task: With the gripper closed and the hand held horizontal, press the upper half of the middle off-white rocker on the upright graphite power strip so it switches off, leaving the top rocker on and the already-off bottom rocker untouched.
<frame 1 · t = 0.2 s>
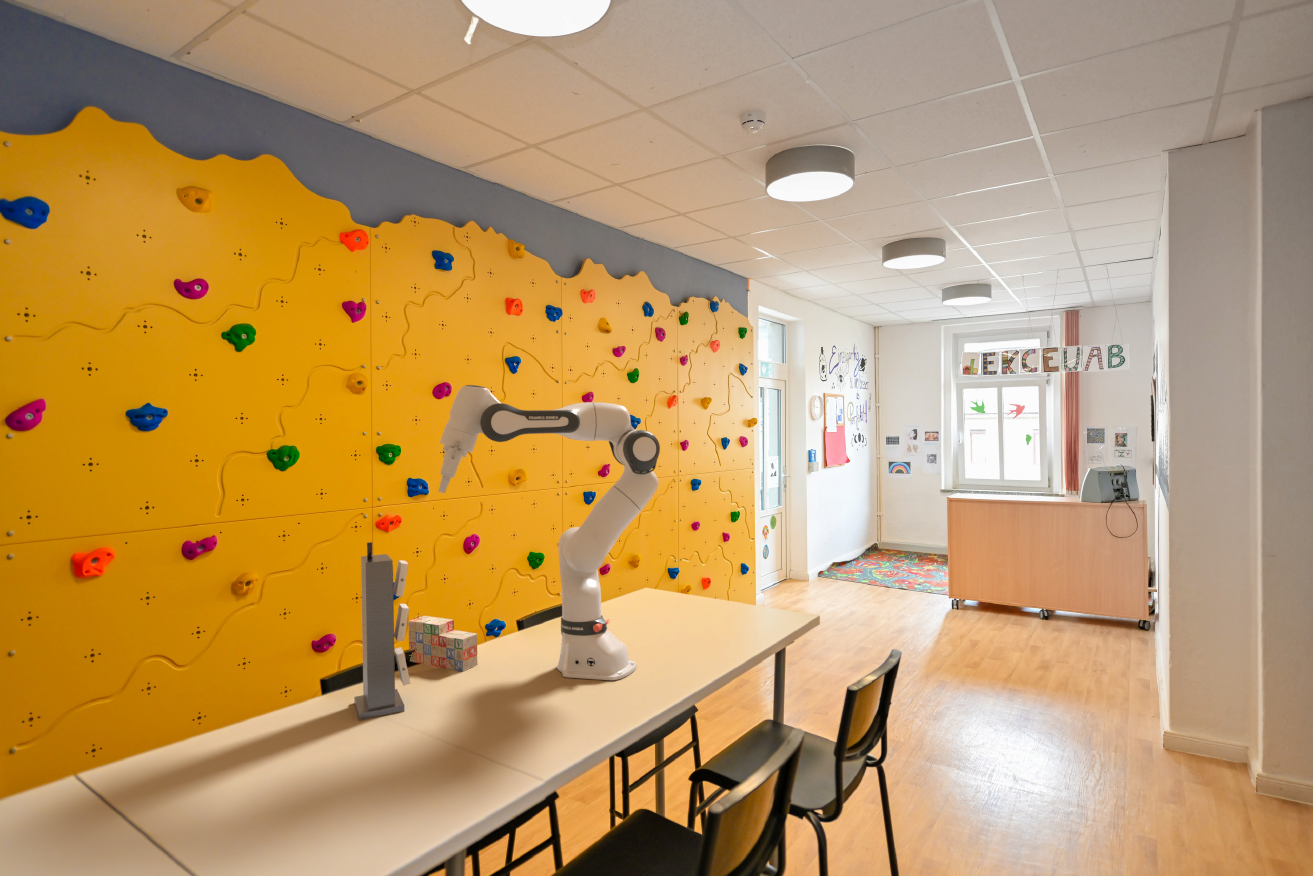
hand: (441, 491, 179), 52 cm above the table, tool tilted 20°, fingers open, 8 cm apart
bottom rocker: (402, 666, 166), point 9 cm above the table, hinge at 10.0°
power strip: (379, 707, 164), on the table
middle rocker: (401, 622, 166), point 20 cm above the table, hinge at -10.0°
stack of blocks: (443, 664, 195), on the table
top rocker: (401, 578, 166), point 31 cm above the table, hinge at -10.0°
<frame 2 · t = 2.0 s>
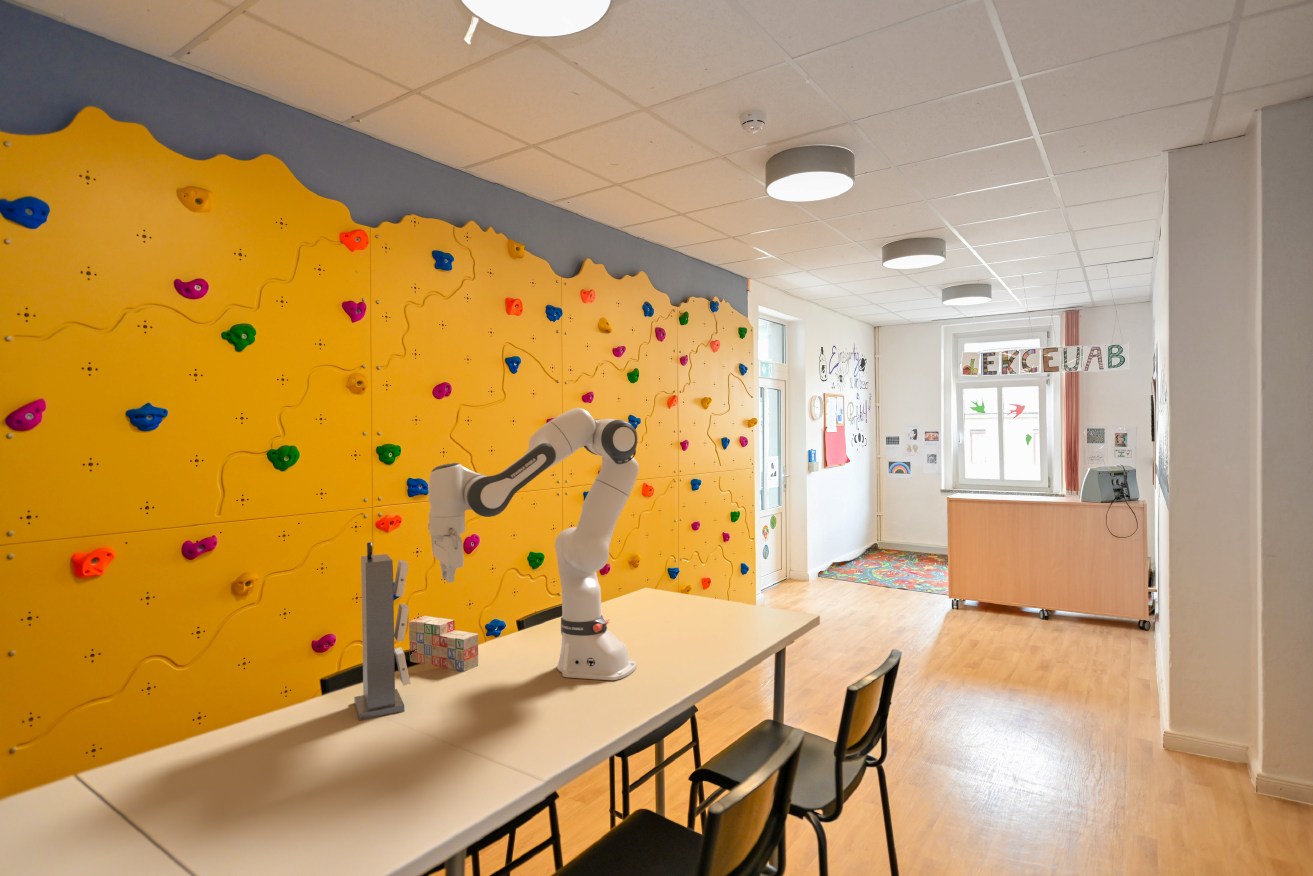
hand: (448, 580, 172), 29 cm above the table, tool pointing down, fingers open, 4 cm apart
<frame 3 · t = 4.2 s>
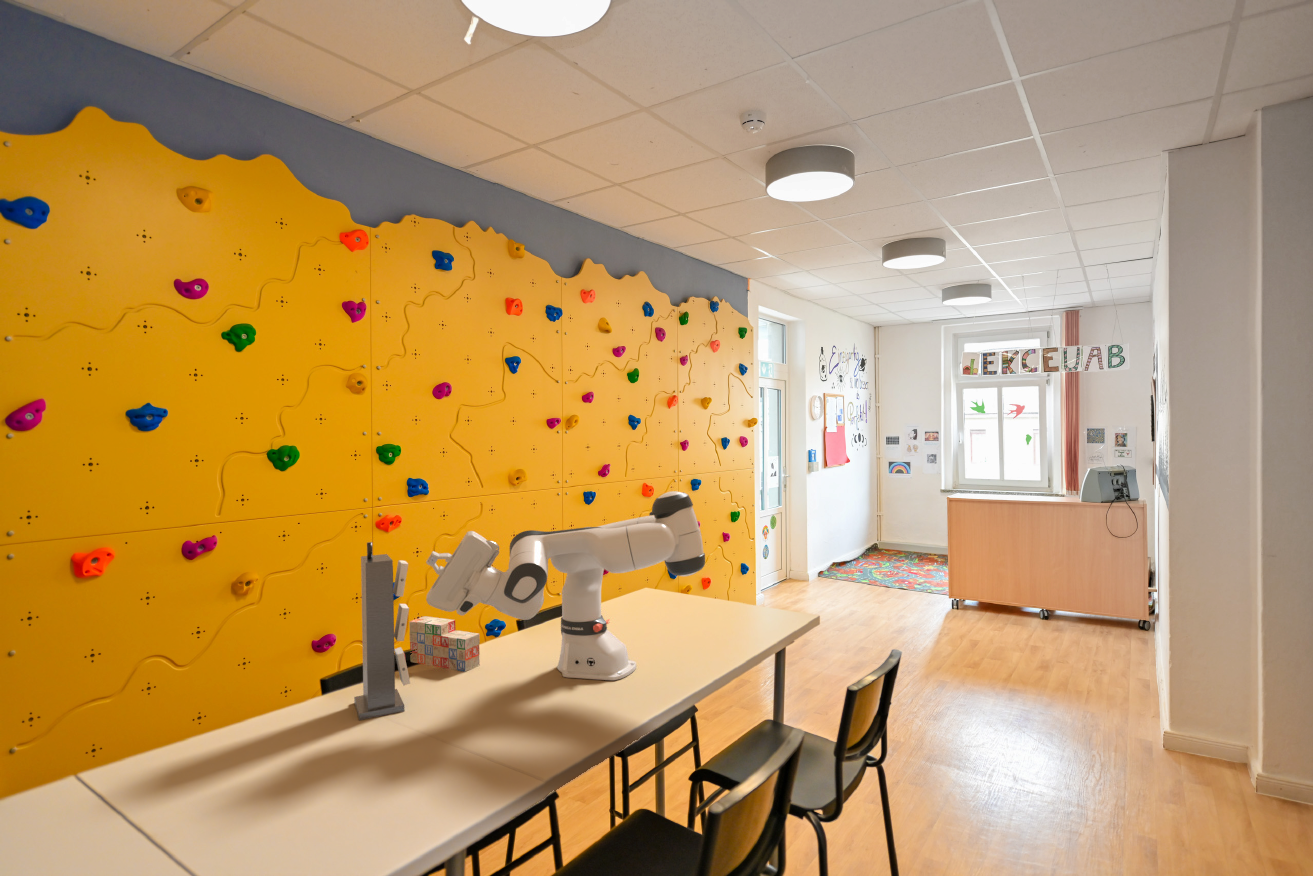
hand: (429, 557, 159), 37 cm above the table, tool pointing upward, fingers closed
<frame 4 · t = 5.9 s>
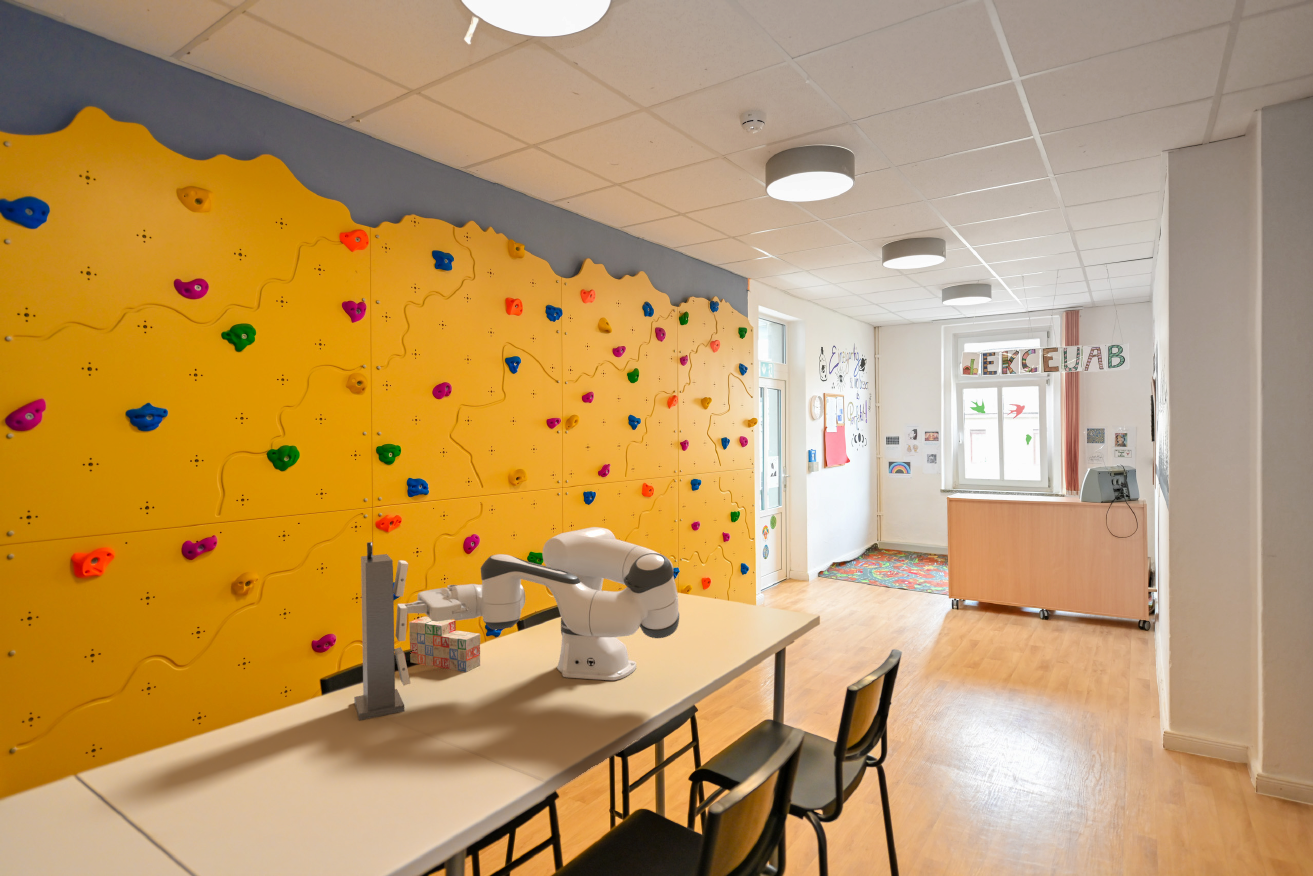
hand: (404, 608, 166), 23 cm above the table, tool horizontal, fingers closed, pressing on middle rocker
middle rocker: (401, 622, 166), point 20 cm above the table, hinge at -4.3°, touching gripper
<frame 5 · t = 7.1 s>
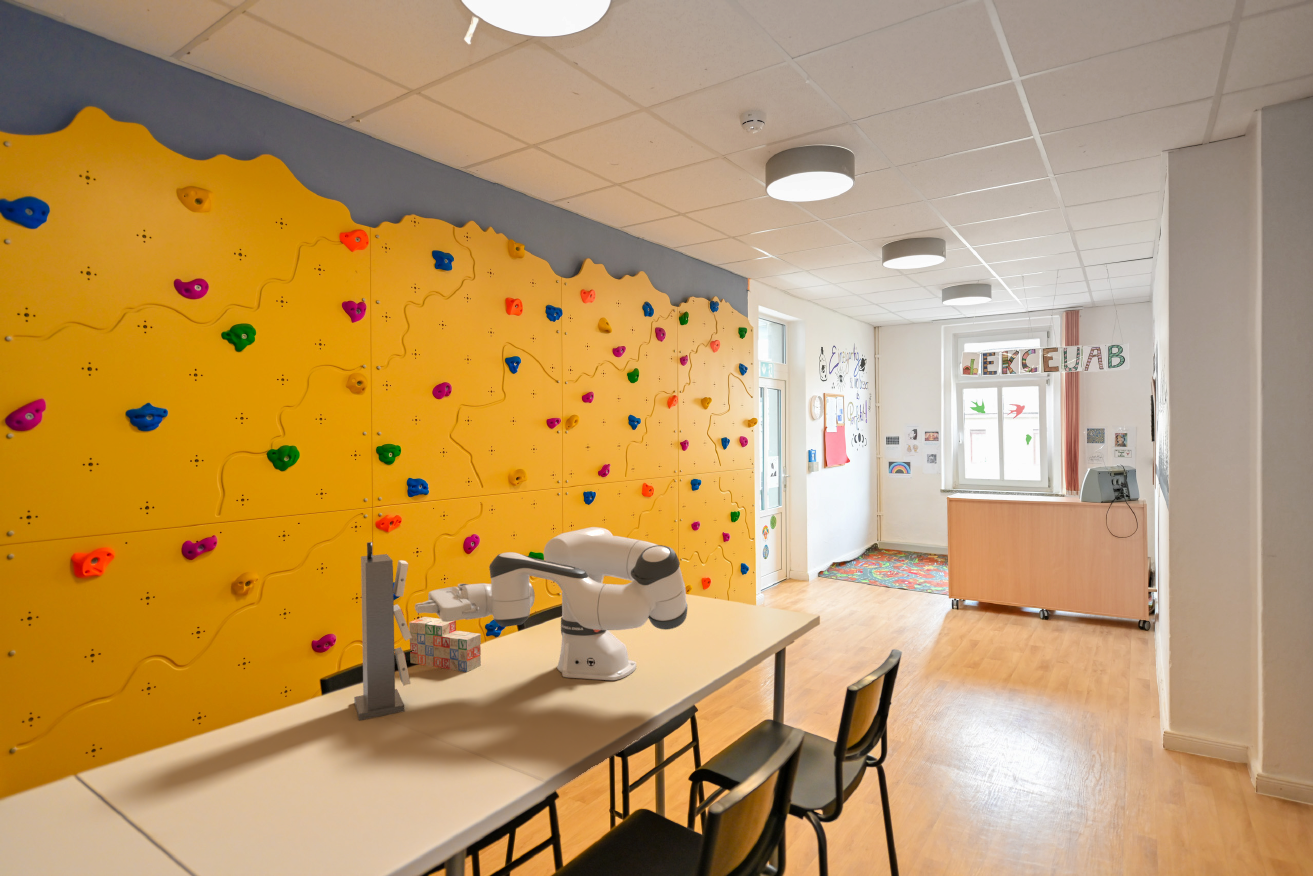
hand: (415, 608, 168), 23 cm above the table, tool horizontal, fingers closed
middle rocker: (401, 622, 166), point 20 cm above the table, hinge at 18.6°
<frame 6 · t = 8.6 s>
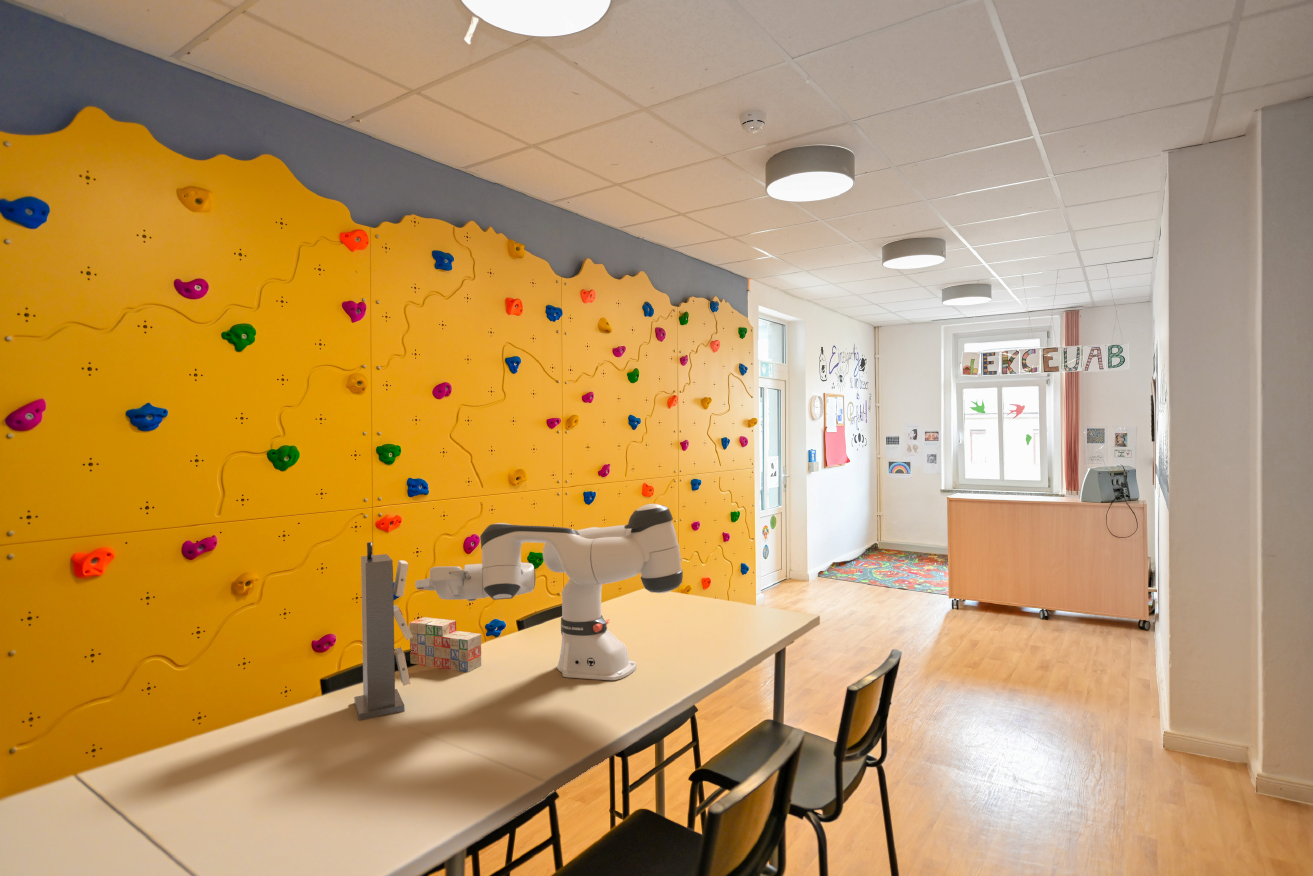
hand: (416, 585, 171), 28 cm above the table, tool horizontal, fingers closed
middle rocker: (401, 622, 166), point 20 cm above the table, hinge at 23.5°, touching power strip
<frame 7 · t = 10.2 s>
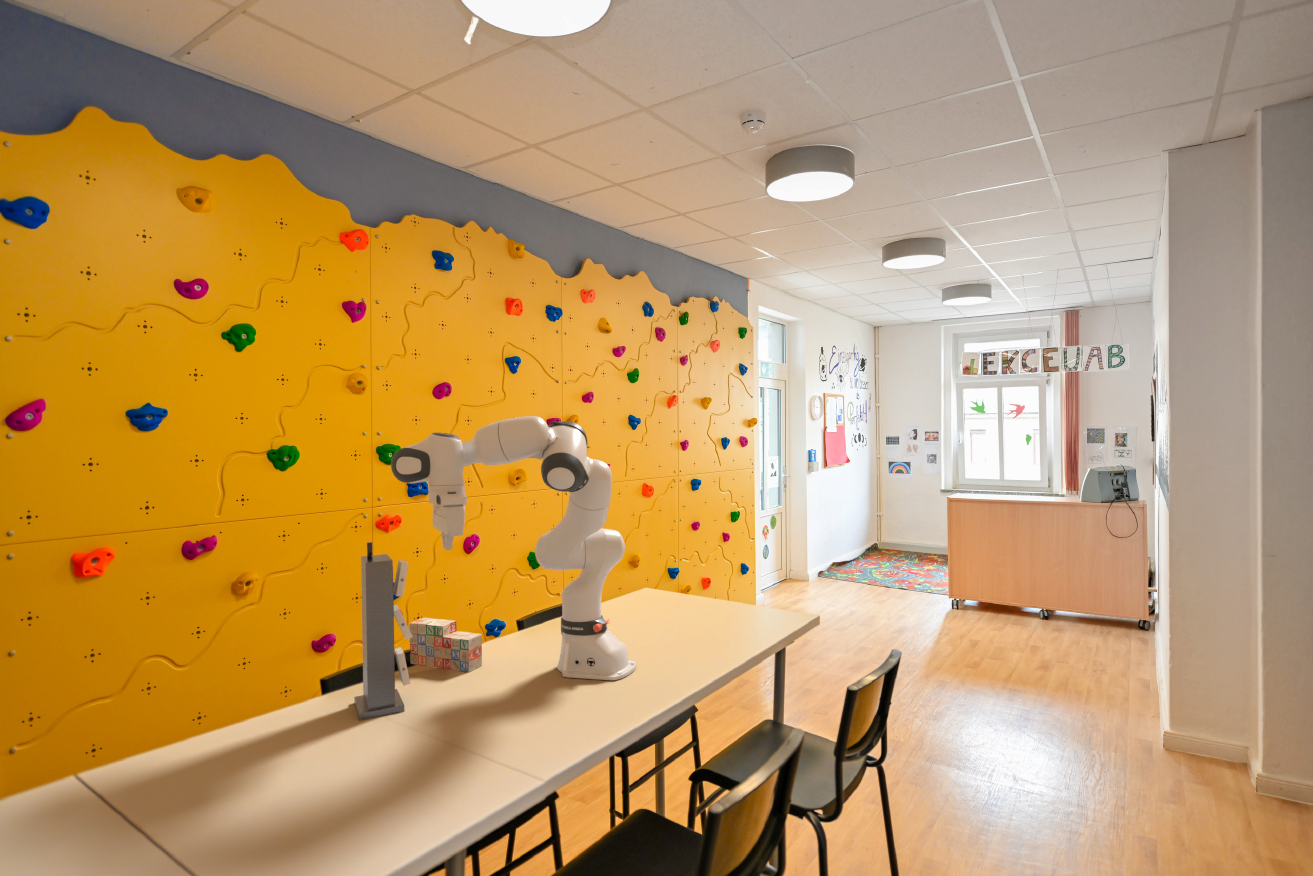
hand: (447, 549, 172), 37 cm above the table, tool pointing down, fingers closed
middle rocker: (401, 622, 166), point 20 cm above the table, hinge at 22.3°
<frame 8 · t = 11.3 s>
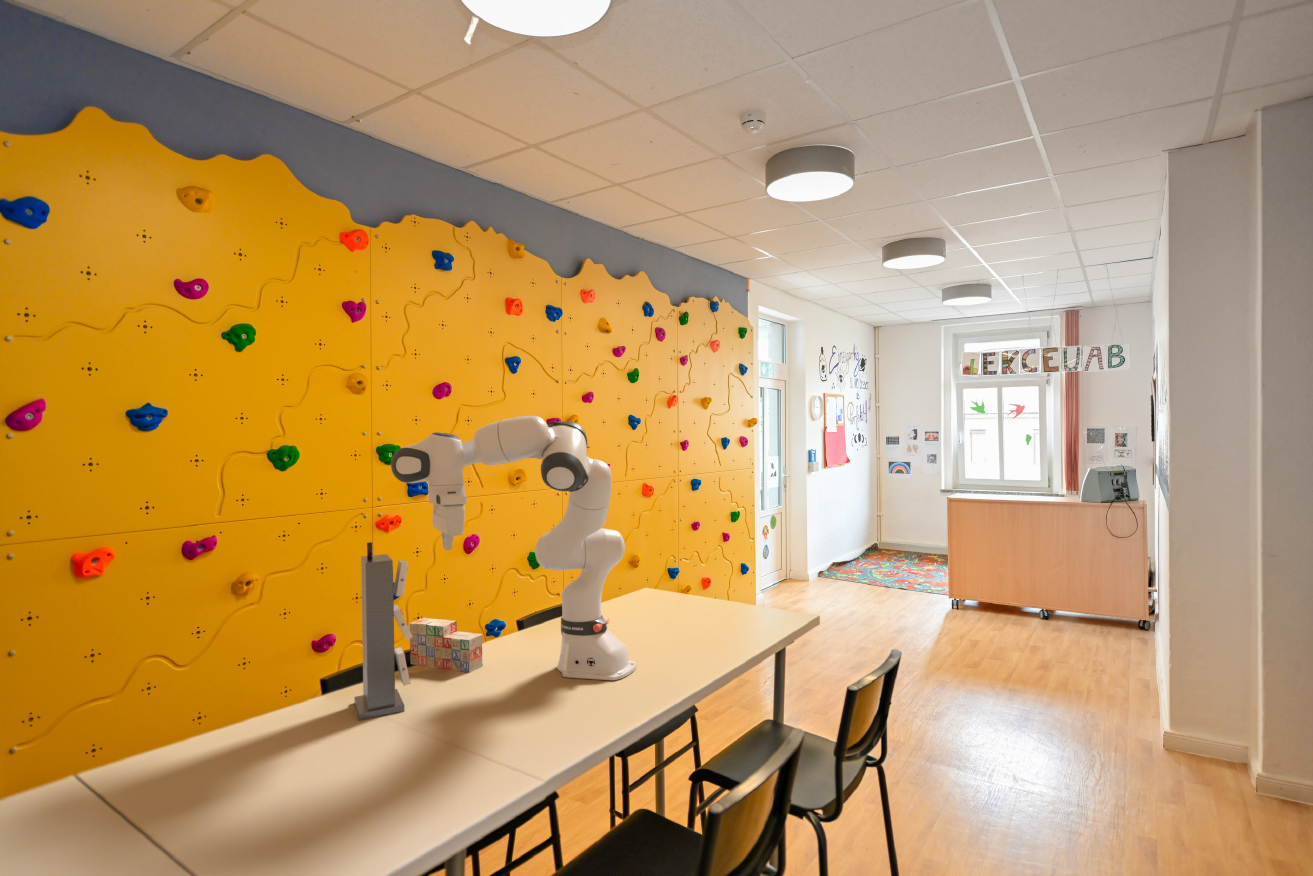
hand: (447, 549, 172), 37 cm above the table, tool pointing down, fingers closed
middle rocker: (401, 622, 166), point 20 cm above the table, hinge at 22.0°
at the end: middle rocker at +22° (first picture: -10°); top rocker at -10° (first picture: -10°); bottom rocker at +10° (first picture: +10°) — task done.
